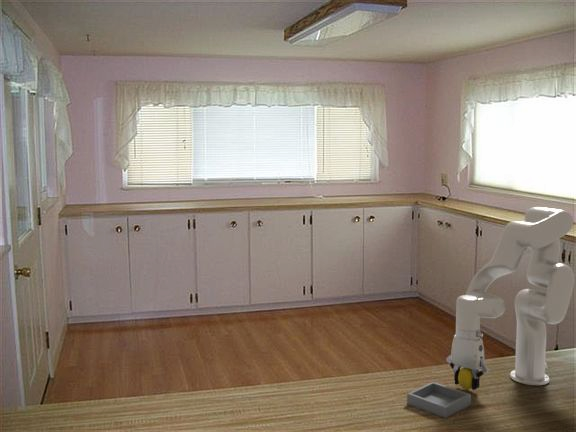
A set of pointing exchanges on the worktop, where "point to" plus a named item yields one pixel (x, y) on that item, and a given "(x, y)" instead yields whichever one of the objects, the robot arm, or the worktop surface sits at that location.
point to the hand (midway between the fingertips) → (466, 385)
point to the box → (439, 399)
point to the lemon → (465, 378)
